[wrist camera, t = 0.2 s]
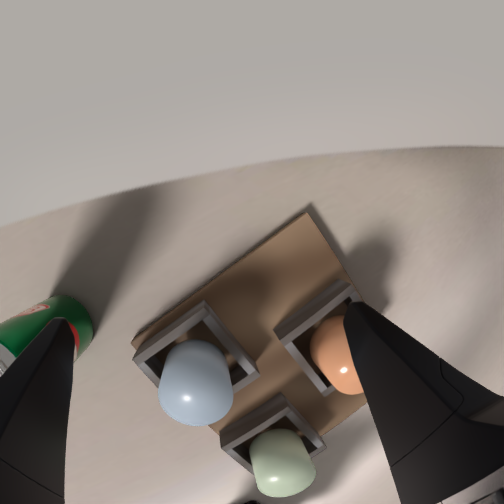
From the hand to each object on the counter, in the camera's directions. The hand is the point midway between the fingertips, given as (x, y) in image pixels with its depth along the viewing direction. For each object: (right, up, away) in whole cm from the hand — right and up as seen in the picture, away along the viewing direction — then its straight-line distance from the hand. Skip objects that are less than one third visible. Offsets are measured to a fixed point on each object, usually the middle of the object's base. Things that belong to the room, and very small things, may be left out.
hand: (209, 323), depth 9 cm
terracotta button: (+8, -5, +13) cm, 16 cm away
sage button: (+3, -14, +13) cm, 19 cm away
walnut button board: (+4, -7, +16) cm, 18 cm away
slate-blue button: (-3, -6, +12) cm, 13 cm away
